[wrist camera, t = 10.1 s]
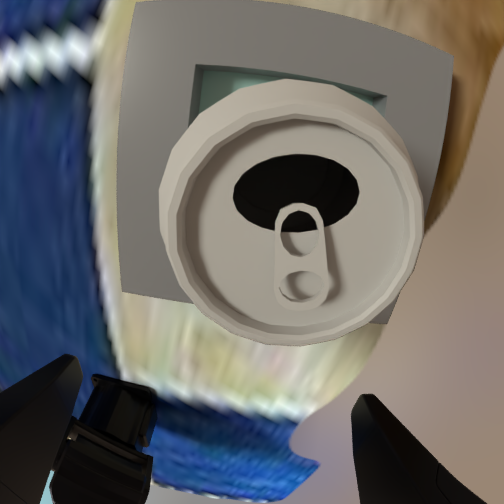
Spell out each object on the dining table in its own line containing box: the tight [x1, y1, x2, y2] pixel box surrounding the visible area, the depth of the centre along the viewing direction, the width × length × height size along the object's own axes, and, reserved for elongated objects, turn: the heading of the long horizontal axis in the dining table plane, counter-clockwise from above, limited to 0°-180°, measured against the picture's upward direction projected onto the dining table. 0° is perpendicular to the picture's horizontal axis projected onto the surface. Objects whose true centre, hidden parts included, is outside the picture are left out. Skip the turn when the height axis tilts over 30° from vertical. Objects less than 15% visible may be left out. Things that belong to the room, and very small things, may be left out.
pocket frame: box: [117, 0, 454, 324], centre depth 16 cm, size 18×18×2 cm
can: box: [159, 79, 424, 346], centre depth 12 cm, size 8×8×12 cm
